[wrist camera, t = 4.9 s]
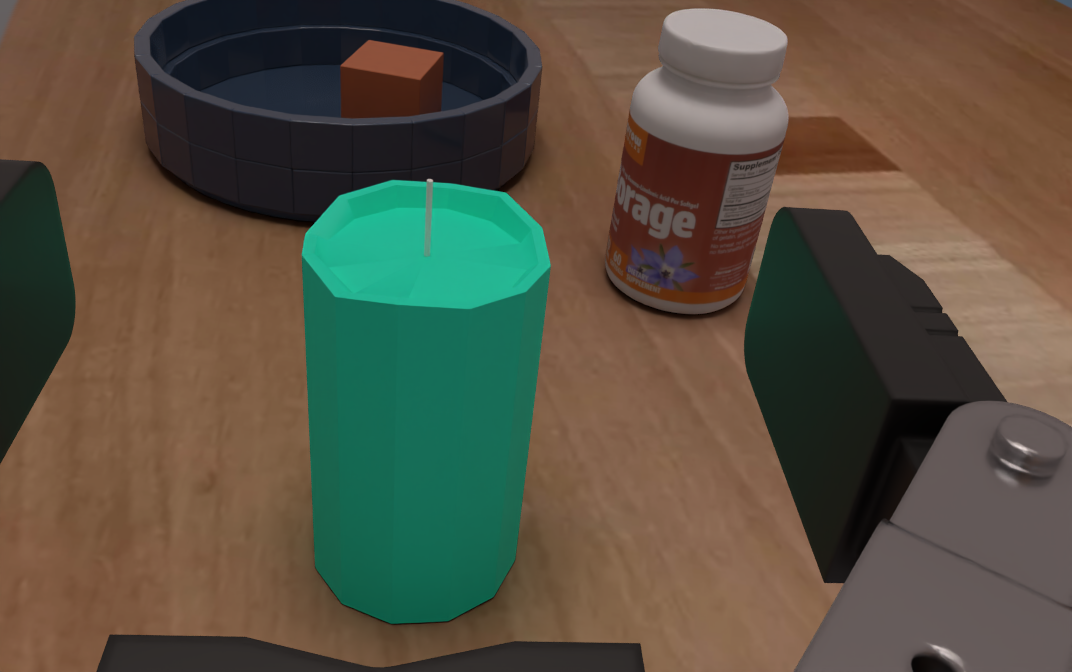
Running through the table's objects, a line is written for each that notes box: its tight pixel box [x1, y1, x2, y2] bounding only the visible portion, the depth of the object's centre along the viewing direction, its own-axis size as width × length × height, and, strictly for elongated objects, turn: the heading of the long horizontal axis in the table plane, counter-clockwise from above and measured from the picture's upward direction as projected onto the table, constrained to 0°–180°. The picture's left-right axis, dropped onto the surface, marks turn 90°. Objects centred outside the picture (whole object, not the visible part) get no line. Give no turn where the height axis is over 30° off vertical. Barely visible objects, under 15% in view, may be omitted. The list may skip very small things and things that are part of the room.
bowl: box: [134, 0, 542, 222], centre depth 51 cm, size 19×19×5 cm
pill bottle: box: [605, 9, 788, 314], centre depth 41 cm, size 6×6×11 cm
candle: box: [302, 179, 551, 624], centre depth 27 cm, size 6×6×12 cm
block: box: [340, 40, 444, 119], centre depth 51 cm, size 4×4×4 cm
